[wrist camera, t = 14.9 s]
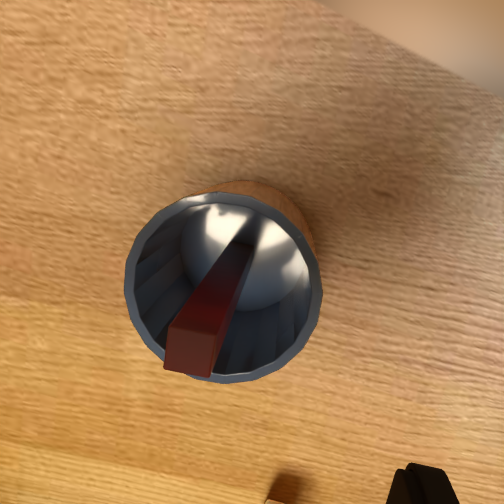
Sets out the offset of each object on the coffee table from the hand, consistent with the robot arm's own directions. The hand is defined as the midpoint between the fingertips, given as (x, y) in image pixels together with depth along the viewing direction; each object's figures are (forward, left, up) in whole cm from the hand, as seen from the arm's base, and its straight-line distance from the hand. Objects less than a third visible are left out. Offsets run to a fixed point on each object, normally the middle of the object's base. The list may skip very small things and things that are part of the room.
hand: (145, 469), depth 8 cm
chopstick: (+1, 0, -20) cm, 20 cm away
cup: (0, 0, -20) cm, 20 cm away
